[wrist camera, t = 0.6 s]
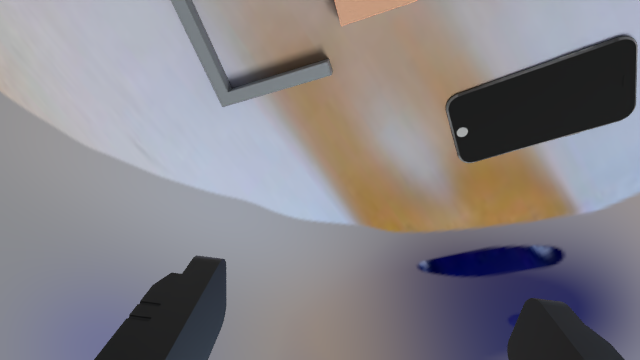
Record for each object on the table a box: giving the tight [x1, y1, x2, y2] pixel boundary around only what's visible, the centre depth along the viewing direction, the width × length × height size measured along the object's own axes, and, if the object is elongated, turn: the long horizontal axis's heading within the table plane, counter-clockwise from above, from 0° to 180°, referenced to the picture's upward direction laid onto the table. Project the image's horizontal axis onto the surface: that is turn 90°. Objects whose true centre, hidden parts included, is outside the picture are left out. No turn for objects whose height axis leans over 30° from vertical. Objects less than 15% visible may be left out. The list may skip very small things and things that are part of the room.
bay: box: [171, 0, 333, 107], centre depth 29 cm, size 13×11×1 cm
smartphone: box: [446, 36, 637, 163], centre depth 31 cm, size 8×1×15 cm
